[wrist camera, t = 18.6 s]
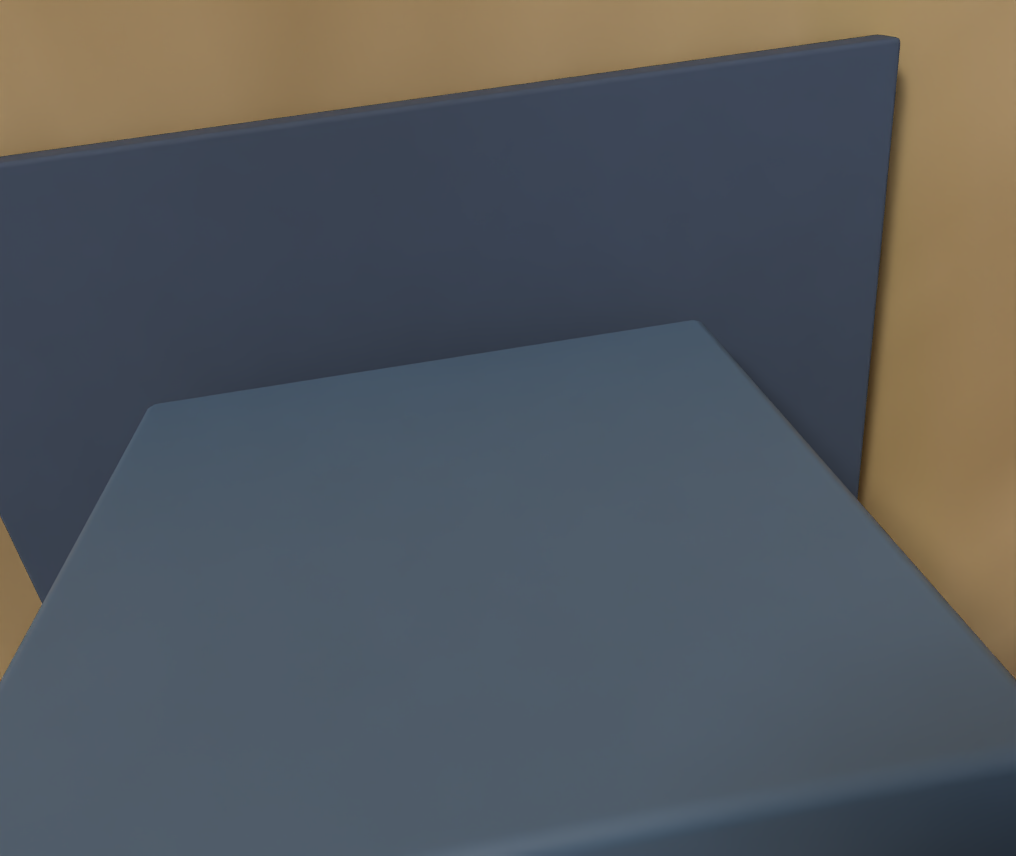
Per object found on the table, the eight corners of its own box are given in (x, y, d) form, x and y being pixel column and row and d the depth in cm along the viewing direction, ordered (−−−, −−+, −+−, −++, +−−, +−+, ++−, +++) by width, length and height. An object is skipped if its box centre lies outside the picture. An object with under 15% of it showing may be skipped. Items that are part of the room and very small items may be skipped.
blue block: (704, 708, 10) (938, 1258, 6) (282, 784, 10) (199, 1421, 6) (700, 314, 8) (1086, 745, 4) (145, 400, 8) (-177, 982, 3)
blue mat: (822, 731, 12) (834, 753, 12) (177, 848, 12) (170, 876, 11) (880, 33, 8) (903, 37, 8) (-135, 175, 7) (-162, 184, 7)
